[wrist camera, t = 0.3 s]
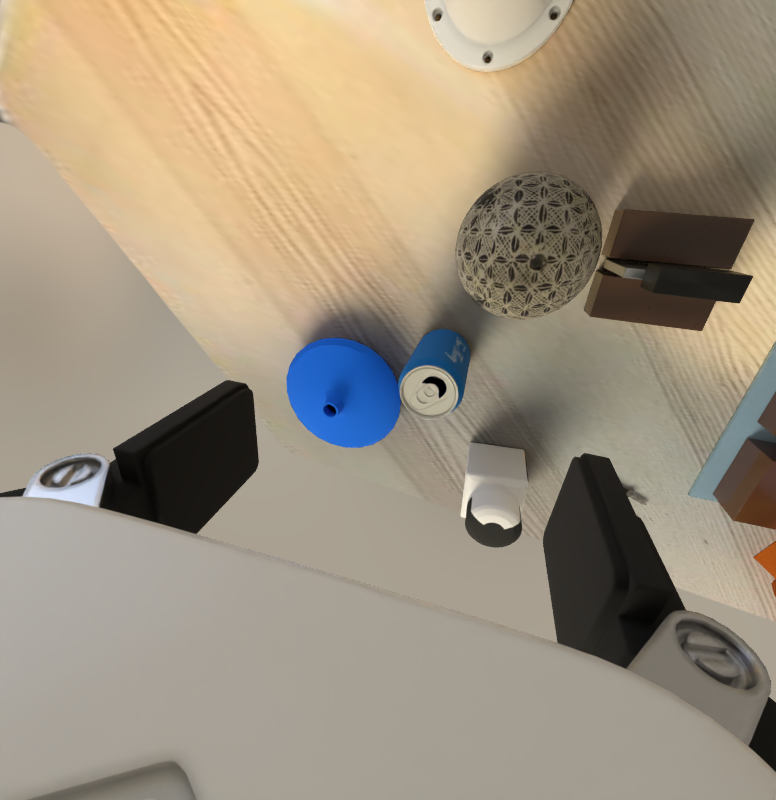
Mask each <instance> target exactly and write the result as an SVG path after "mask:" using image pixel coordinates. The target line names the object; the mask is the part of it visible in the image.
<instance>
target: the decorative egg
mask: <svg viewBox="0 0 776 800" xmlns="http://www.w3.org/2000/svg"><path fill="white" fill-rule="evenodd" d="M601 247H602V227H601V221H600V217H599V214H598V211H597V209H596V207H595V205H594V203H593V201H592V200H591V198H590V197H589V196H588V194H587V193H586V192H585V191H584V190H583V189H582V188H581V187H580V186H579V185H577V184H576V183H574V182H573V181H571V180H569V179H567V178H565V177H563V176H561V175H557V174H553V173H548V172H529V173H522V174H518V175H514V176H512V177H509V178H507V179H505V180H503V181H501V182H499V183H497V184H495V185H494V186H492V187H491V188H490V189H488V190H487V191H486V192H485V193H484V194H483V195H482V196H481V197H479V198H478V199H477V201H476V202H475V203H474V204H473V206H472V207H471V208H470V210H469V211H468V213H467V215H466V217H465V218H464V220H463V223H462V225H461V228H460V231H459V234H458V238H457V243H456V266H457V271H458V275H459V277H460V280H461V283H462V285H463V287H464V288H465V290H466V292H467V293H468V294H469V296H470V297H471V298H472V299H473V300H474V301H475V302H476V303H477V304H478V305H479V306H481V307H482V308H483V309H485V310H487V311H488V312H490V313H493V314H495V315H497V316H500V317H504V318H509V319H531V318H537V317H541V316H544V315H547V314H549V313H552V312H554V311H556V310H558V309H560V308H561V307H563V306H564V305H565V304H567V303H568V302H569V301H571V300H572V299H573V298H574V297H576V296H577V294H578V293H579V292H580V291H581V290H582V289H583V288H584V287H585V285H586V284H587V282H588V281H589V279H590V277H591V276H592V274H593V272H594V271H595V268H596V266H597V263H598V260H599V256H600V252H601Z"/></svg>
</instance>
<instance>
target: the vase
mask: <svg viewBox="0 0 776 800" xmlns="http://www.w3.org/2000/svg"><path fill="white" fill-rule="evenodd" d="M287 393H288V396H289V400H290V403H291V406H292V408H293V410H294V411H295V413H296V415H297V417H298V419H299V420H300V421H301V422H302V423H303V425H304V426H305V427H306V428H307V429H308V430H309V431H311V432H312V433H313V434H314V435H316V436H317V437H318V438H320V439H322V440H324V441H327V442H329V443H331V444H334V445H338V446H342V447H350V448H360V447H364V446H368V445H372V444H374V443H376V442H378V441H380V440H381V439H383V438H385V437H386V435H387V434H388V433H389V432H390V431H391V430H392V429H393V428H394V426H395V423H396V421H397V419H398V417H399V412H400V405H401V400H400V393H399V387H398V383H397V381H396V378H395V376H394V374H393V372H392V370H391V368H390V367H389V366H388V364H387V363H386V362H385V361H384V359H383V358H382V357H381V356H380V355H378V354H377V353H376V352H375V351H373V350H372V349H371V348H370V347H367V346H365V345H363V344H361V343H359V342H357V341H353V340H348V339H343V338H329V339H320V340H318V341H315V342H313V343H310V344H308V345H307V346H305V347H304V348H303V349H302V350H301V351H299V352H298V353H297V355H296V356H295V358H294V359H293V361H292V363H291V364H290V367H289V371H288V375H287Z"/></svg>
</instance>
